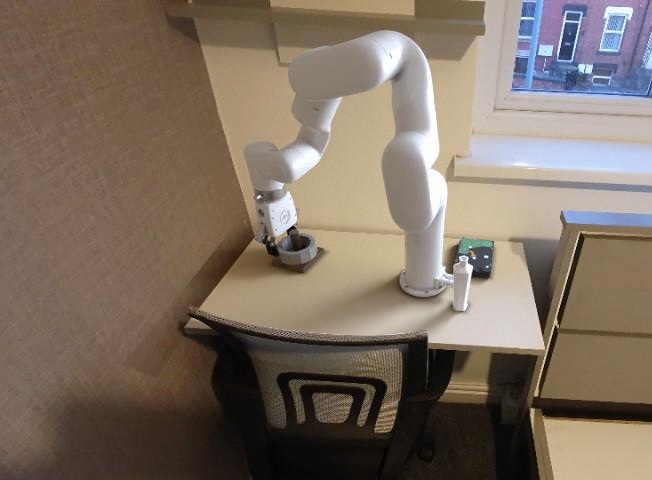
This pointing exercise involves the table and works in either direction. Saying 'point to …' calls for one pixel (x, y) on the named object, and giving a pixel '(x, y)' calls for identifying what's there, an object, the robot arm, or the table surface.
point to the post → (296, 247)
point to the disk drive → (477, 255)
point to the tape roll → (298, 256)
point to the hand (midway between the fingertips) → (283, 246)
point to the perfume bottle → (461, 283)
